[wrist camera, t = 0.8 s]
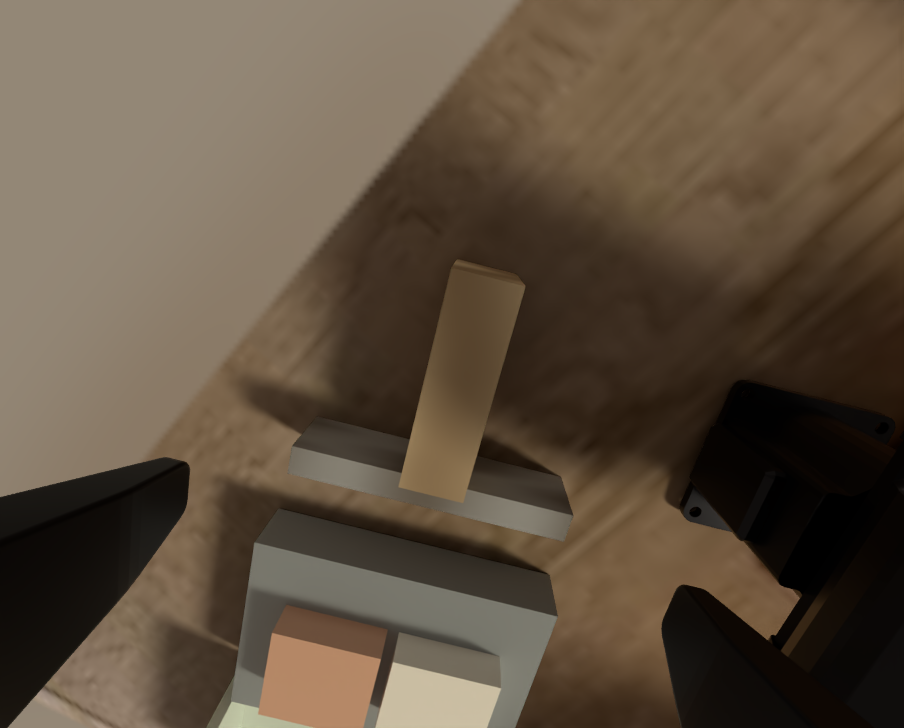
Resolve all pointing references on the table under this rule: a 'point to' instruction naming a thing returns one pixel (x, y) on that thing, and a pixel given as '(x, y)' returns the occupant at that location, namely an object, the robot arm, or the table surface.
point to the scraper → (447, 424)
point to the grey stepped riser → (394, 602)
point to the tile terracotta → (321, 669)
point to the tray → (244, 715)
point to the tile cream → (438, 686)
